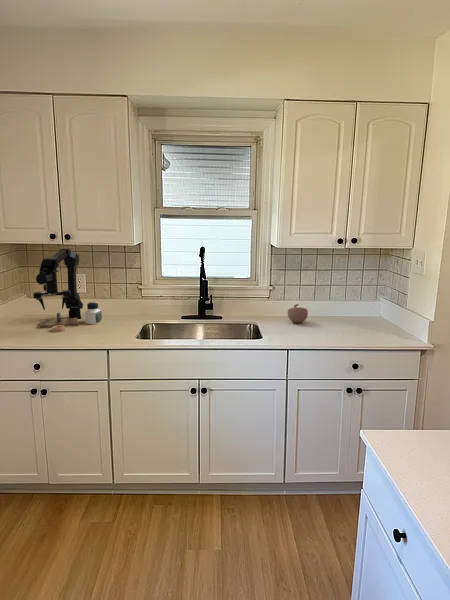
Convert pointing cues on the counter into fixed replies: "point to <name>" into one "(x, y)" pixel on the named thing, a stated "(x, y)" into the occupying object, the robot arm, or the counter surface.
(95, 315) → the medicine bottle
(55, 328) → the ring
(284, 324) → the counter surface
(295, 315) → the reddish brown apple
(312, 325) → the counter surface
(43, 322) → the hook board
